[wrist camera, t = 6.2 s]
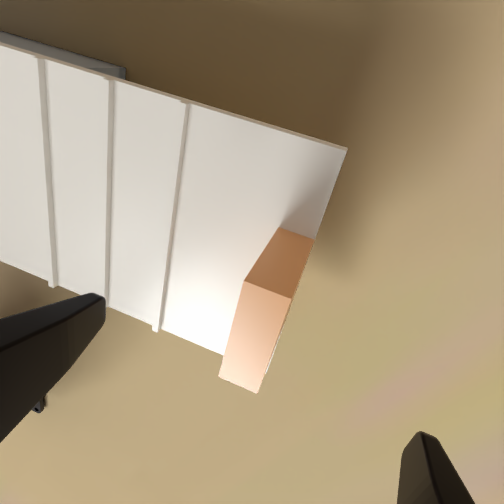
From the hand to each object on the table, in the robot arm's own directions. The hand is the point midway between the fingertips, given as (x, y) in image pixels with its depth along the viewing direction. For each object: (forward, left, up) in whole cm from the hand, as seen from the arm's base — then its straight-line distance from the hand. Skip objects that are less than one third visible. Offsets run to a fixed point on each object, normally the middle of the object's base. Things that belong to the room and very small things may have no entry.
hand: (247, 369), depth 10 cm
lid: (0, +7, -6) cm, 9 cm away
